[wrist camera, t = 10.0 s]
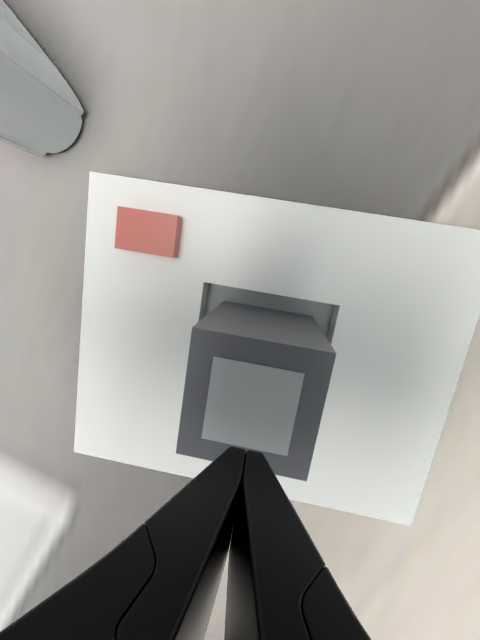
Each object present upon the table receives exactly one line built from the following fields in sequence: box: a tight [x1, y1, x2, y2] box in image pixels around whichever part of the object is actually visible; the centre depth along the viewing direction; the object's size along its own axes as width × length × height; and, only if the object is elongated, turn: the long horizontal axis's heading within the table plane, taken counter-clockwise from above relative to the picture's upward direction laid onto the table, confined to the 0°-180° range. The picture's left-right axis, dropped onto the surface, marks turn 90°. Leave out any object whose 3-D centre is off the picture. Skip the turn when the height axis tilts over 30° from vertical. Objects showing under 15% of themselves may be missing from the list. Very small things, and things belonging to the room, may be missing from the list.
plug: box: [176, 301, 336, 481], centre depth 15 cm, size 5×5×7 cm
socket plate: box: [74, 172, 480, 526], centre depth 17 cm, size 16×20×3 cm
